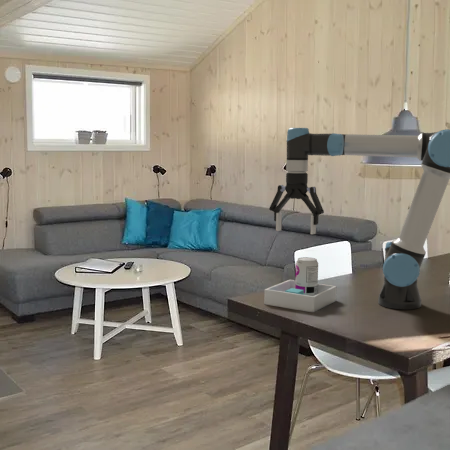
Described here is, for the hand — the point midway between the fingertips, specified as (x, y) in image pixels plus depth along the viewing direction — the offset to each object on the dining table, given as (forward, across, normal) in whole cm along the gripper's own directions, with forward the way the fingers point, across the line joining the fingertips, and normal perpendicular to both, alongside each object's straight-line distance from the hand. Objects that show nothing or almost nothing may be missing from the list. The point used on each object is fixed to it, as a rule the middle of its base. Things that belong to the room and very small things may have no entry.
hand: (295, 232), depth 224 cm
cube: (+26, 0, 0) cm, 26 cm away
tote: (+27, 0, -6) cm, 27 cm away
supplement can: (+26, 0, -10) cm, 28 cm away
